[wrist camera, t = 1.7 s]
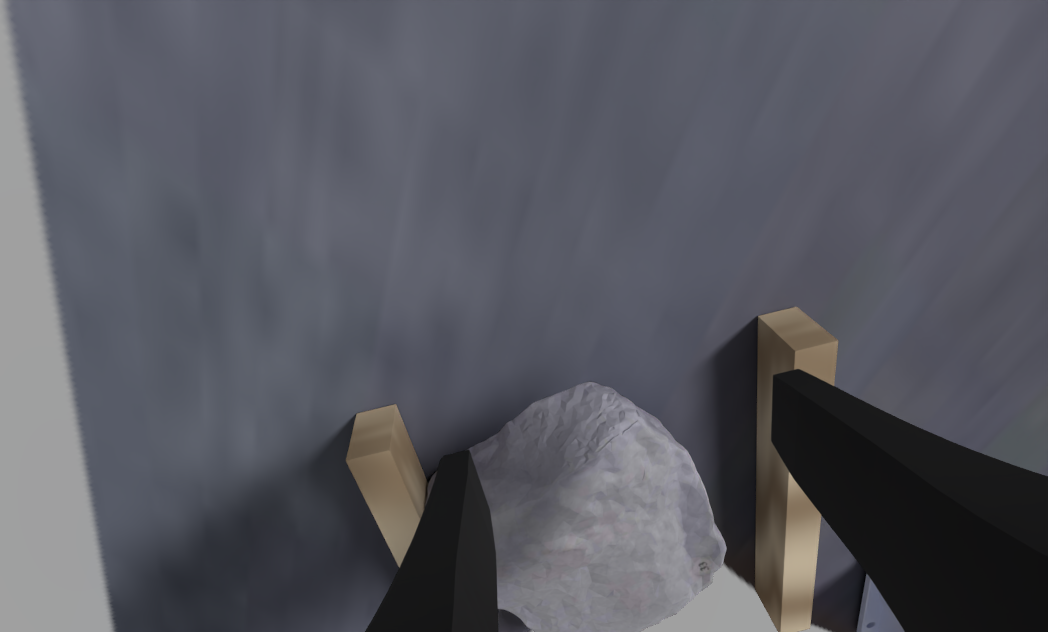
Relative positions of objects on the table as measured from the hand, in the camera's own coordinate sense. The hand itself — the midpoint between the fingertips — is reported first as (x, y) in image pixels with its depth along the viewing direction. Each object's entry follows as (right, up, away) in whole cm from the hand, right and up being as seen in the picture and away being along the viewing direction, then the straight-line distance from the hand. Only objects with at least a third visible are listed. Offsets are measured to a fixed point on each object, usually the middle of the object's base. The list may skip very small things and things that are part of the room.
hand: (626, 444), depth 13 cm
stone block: (0, -5, +12) cm, 13 cm away
